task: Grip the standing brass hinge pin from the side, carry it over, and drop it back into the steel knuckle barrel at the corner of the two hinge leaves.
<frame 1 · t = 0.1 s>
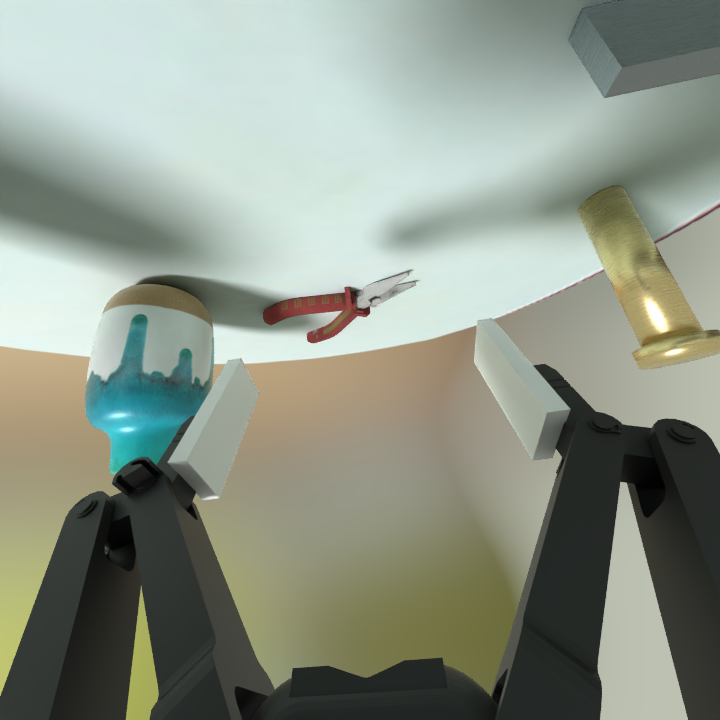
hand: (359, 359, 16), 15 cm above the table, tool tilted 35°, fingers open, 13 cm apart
hinge pin: (600, 202, 28), on the table
pliers: (341, 304, 41), on the table
vase: (165, 293, 33), on the table
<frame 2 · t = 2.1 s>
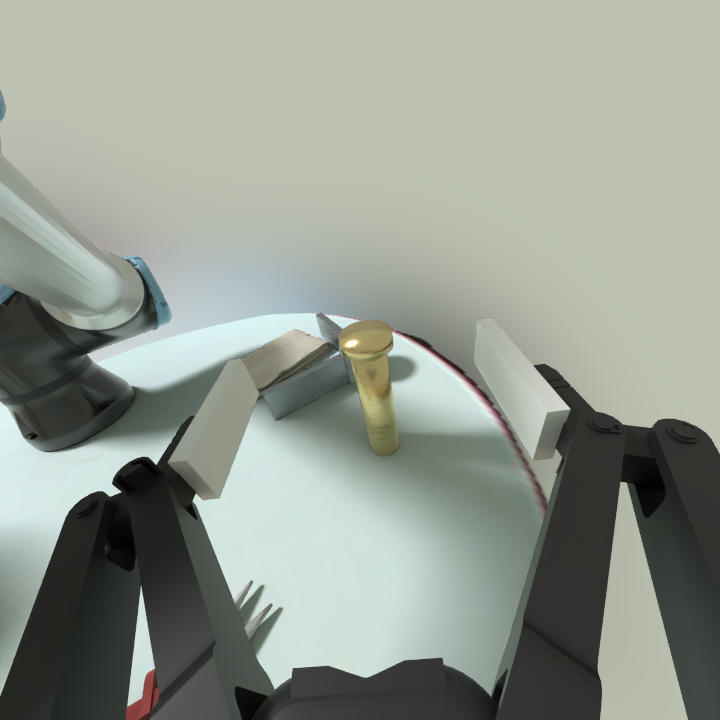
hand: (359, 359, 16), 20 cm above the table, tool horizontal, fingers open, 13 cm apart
hinge: (365, 370, 48), on the table
hinge pin: (384, 443, 36), on the table
washcloth: (280, 366, 55), on the table
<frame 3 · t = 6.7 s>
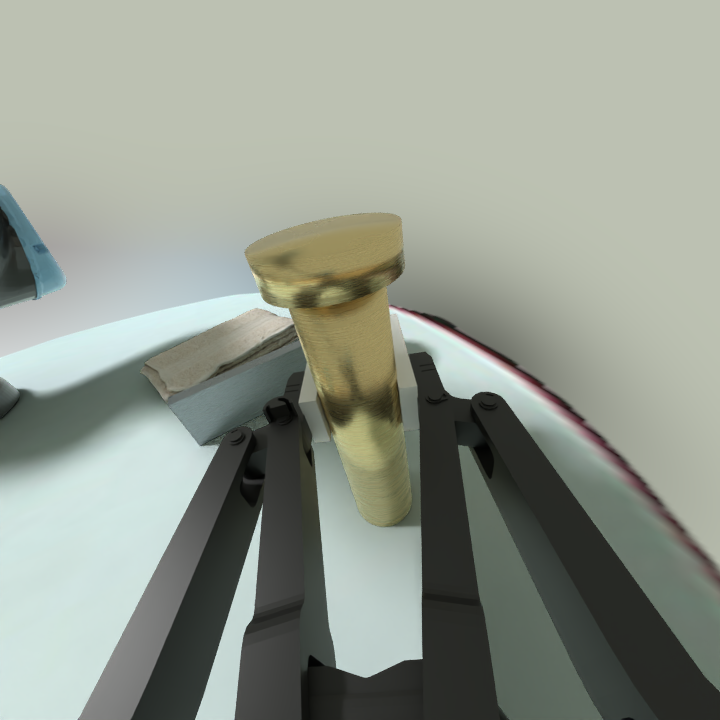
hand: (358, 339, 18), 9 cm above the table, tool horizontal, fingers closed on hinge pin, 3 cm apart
hinge: (354, 363, 31), on the table
hinge pin: (383, 497, 19), on the table, touching gripper
washcloth: (231, 358, 38), on the table
when the fingers open (11 cm above the table, at t = 10.6 s): hinge pin drops 2 cm, resting in hinge.
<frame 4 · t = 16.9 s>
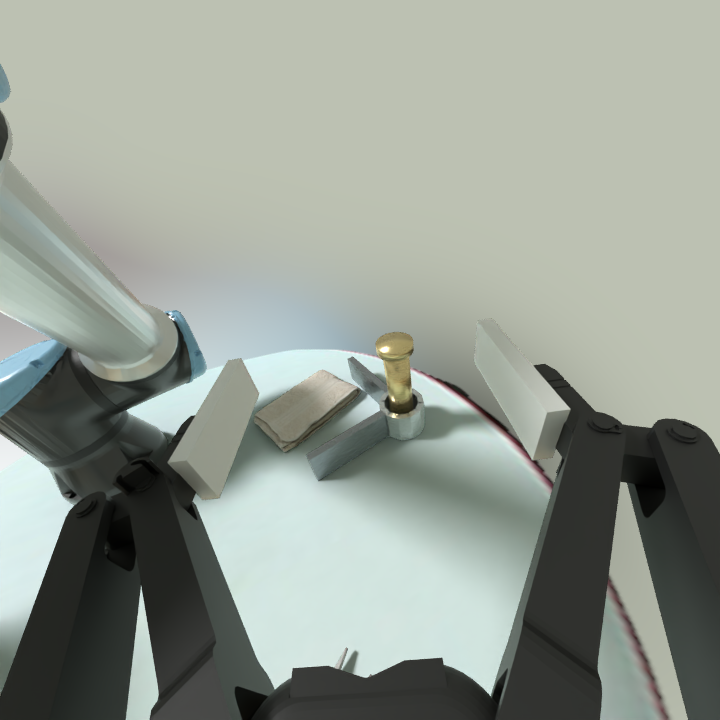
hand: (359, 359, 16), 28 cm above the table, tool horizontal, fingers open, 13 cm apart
hinge: (403, 423, 48), on the table
hinge pin: (403, 423, 48), resting in hinge
washcloth: (309, 411, 55), on the table
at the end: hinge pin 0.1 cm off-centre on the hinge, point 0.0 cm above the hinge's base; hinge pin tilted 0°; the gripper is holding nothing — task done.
